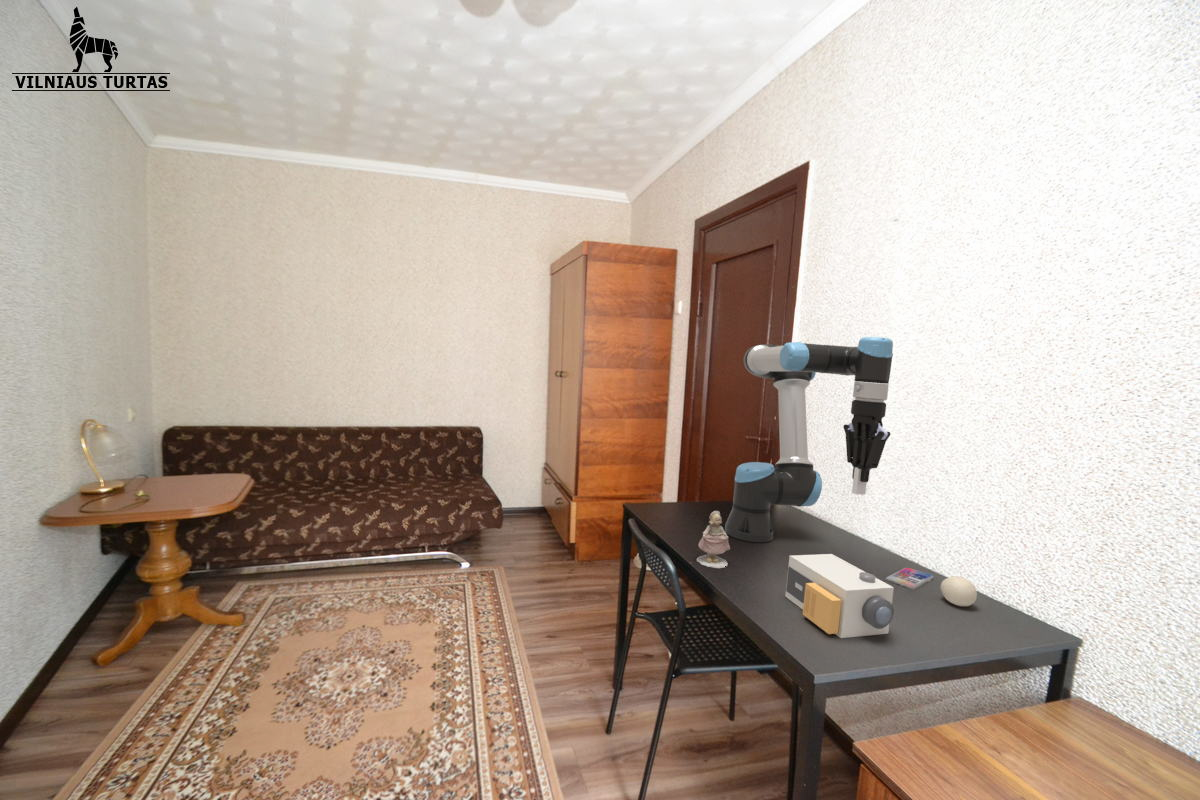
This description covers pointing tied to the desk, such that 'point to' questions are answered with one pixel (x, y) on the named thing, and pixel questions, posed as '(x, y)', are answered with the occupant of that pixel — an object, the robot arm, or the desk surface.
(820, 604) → the side door
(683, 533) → the desk surface
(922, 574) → the smartphone
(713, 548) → the figurine
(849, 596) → the block
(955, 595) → the cream round ball
